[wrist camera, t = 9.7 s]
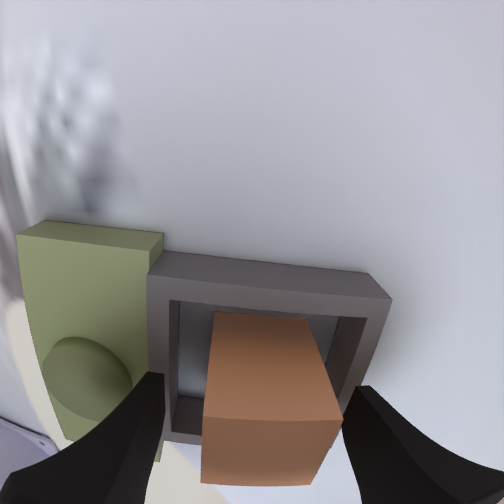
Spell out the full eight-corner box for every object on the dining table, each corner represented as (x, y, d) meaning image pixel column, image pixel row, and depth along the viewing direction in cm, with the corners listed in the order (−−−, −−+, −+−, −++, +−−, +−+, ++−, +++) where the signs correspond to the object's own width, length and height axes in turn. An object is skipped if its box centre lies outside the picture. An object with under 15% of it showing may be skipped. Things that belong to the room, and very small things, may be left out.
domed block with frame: (77, 414, 15) (60, 450, 12) (44, 220, 12) (1, 241, 9) (309, 443, 17) (318, 484, 14) (372, 258, 13) (406, 290, 10)
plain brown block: (209, 380, 15) (200, 483, 9) (215, 310, 13) (202, 415, 8) (290, 385, 15) (309, 484, 9) (306, 318, 14) (343, 419, 8)
